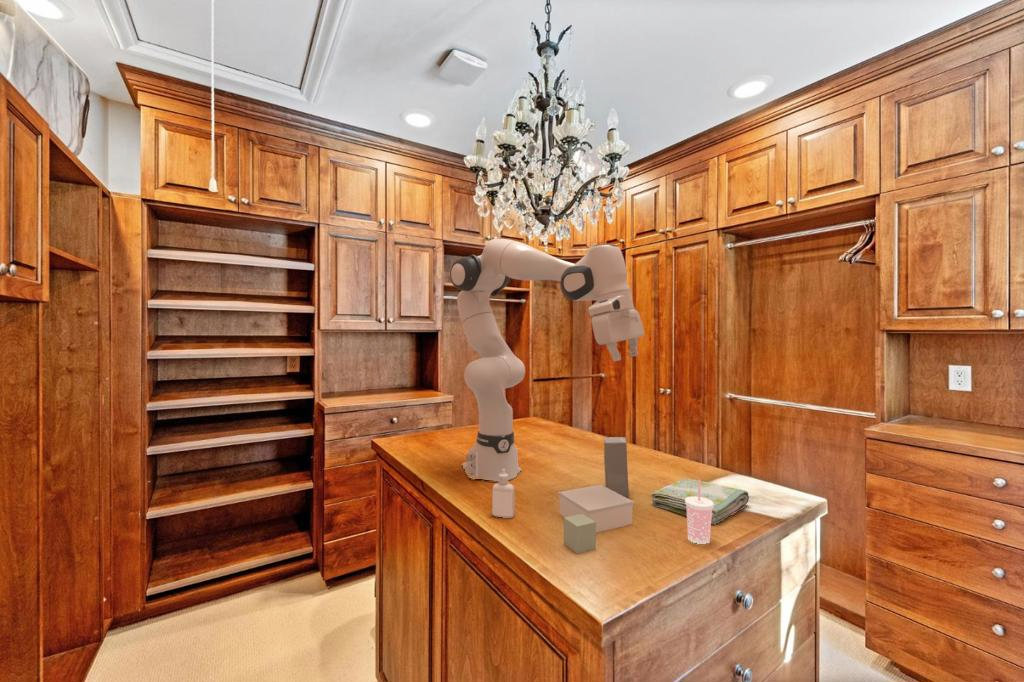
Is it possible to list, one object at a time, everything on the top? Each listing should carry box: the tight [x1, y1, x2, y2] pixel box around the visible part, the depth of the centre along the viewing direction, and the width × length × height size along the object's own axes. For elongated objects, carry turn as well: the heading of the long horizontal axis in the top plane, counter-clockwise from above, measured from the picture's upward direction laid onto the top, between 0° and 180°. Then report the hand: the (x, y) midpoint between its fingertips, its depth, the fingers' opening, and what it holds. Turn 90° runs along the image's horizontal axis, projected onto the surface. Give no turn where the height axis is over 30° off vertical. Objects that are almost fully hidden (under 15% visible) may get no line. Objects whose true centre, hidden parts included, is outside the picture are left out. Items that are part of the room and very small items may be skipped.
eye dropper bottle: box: [491, 469, 516, 519], centre depth 115 cm, size 4×6×12 cm
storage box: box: [558, 484, 634, 534], centre depth 114 cm, size 13×13×6 cm
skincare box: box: [603, 436, 630, 499], centre depth 132 cm, size 8×7×16 cm
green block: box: [563, 514, 597, 554], centre depth 99 cm, size 5×5×6 cm
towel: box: [650, 478, 750, 525], centre depth 123 cm, size 18×21×5 cm
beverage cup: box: [685, 478, 714, 545], centre depth 102 cm, size 6×6×14 cm
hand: (625, 358), depth 114 cm, fingers open, 8 cm apart
